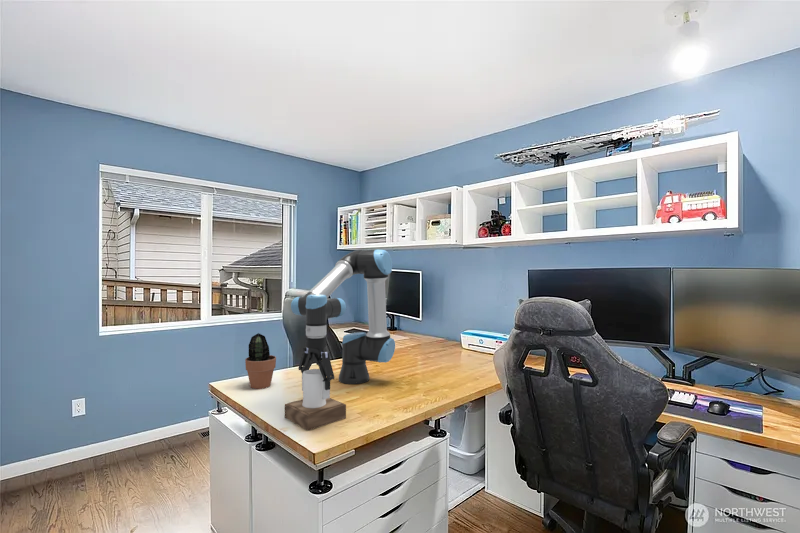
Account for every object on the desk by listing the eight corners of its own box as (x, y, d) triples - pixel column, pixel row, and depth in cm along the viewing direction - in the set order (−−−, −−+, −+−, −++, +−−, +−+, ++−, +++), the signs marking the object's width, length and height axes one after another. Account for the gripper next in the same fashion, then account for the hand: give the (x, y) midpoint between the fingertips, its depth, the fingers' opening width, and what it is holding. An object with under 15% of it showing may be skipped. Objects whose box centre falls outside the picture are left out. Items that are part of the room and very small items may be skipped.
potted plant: (281, 386, 180) (281, 332, 180) (252, 392, 170) (253, 336, 170) (267, 380, 189) (268, 329, 190) (239, 386, 180) (240, 332, 180)
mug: (306, 397, 148) (306, 366, 148) (328, 397, 148) (328, 366, 149) (300, 408, 136) (300, 374, 136) (324, 408, 137) (324, 374, 137)
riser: (284, 417, 142) (284, 403, 142) (321, 406, 153) (321, 393, 153) (307, 430, 130) (308, 414, 130) (345, 418, 142) (346, 403, 142)
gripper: (289, 333, 148) (289, 388, 148) (326, 342, 131) (326, 405, 130) (306, 331, 153) (306, 384, 153) (344, 339, 136) (344, 399, 136)
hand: (315, 394), depth 142 cm, fingers open, 13 cm apart
